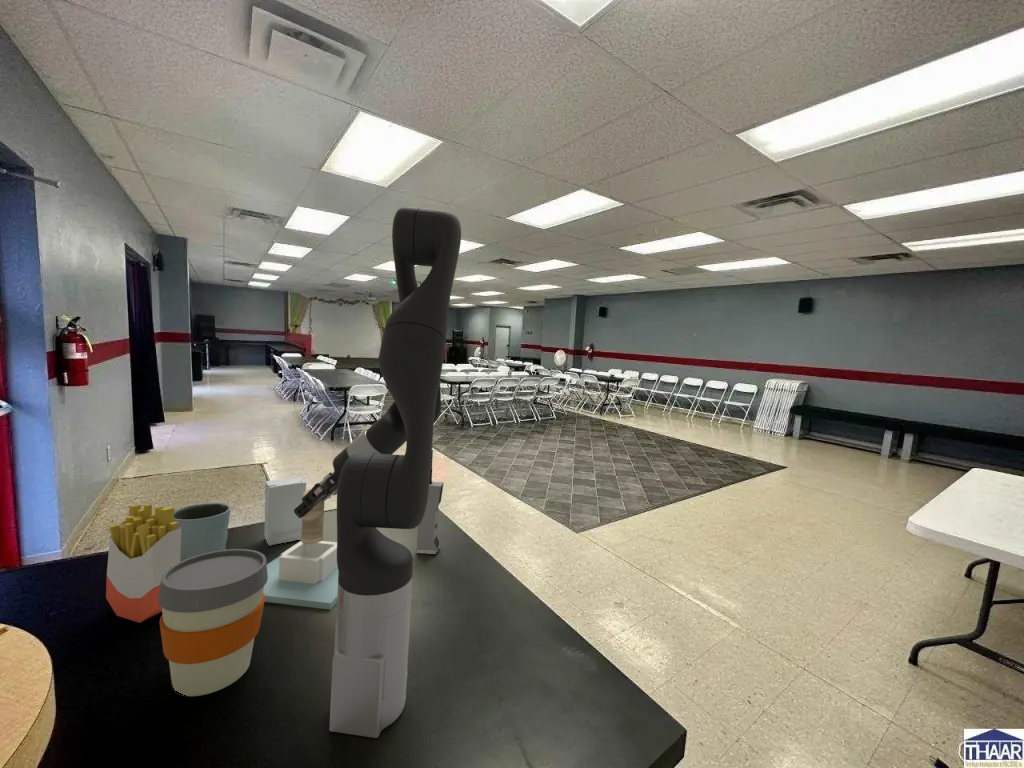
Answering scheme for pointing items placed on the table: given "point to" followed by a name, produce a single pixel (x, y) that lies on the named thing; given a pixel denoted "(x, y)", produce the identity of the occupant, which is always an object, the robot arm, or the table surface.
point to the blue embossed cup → (202, 528)
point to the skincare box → (283, 509)
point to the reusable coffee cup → (211, 617)
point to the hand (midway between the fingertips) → (304, 510)
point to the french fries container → (141, 560)
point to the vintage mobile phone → (430, 517)
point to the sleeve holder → (304, 576)
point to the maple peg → (313, 524)
